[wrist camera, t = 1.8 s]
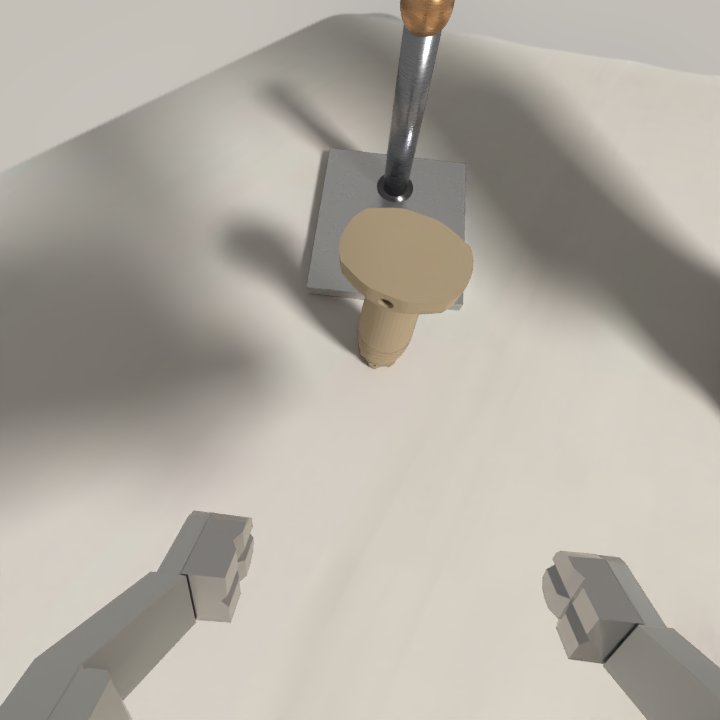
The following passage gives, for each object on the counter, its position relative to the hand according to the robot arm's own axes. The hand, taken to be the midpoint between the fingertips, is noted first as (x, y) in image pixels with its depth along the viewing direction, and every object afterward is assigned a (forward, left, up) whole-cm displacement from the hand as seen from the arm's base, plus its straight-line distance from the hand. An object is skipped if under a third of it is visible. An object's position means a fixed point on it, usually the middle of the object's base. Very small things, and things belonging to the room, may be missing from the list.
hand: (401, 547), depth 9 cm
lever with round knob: (0, -29, -18) cm, 34 cm away
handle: (0, -12, -19) cm, 22 cm away
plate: (0, -25, -19) cm, 31 cm away
